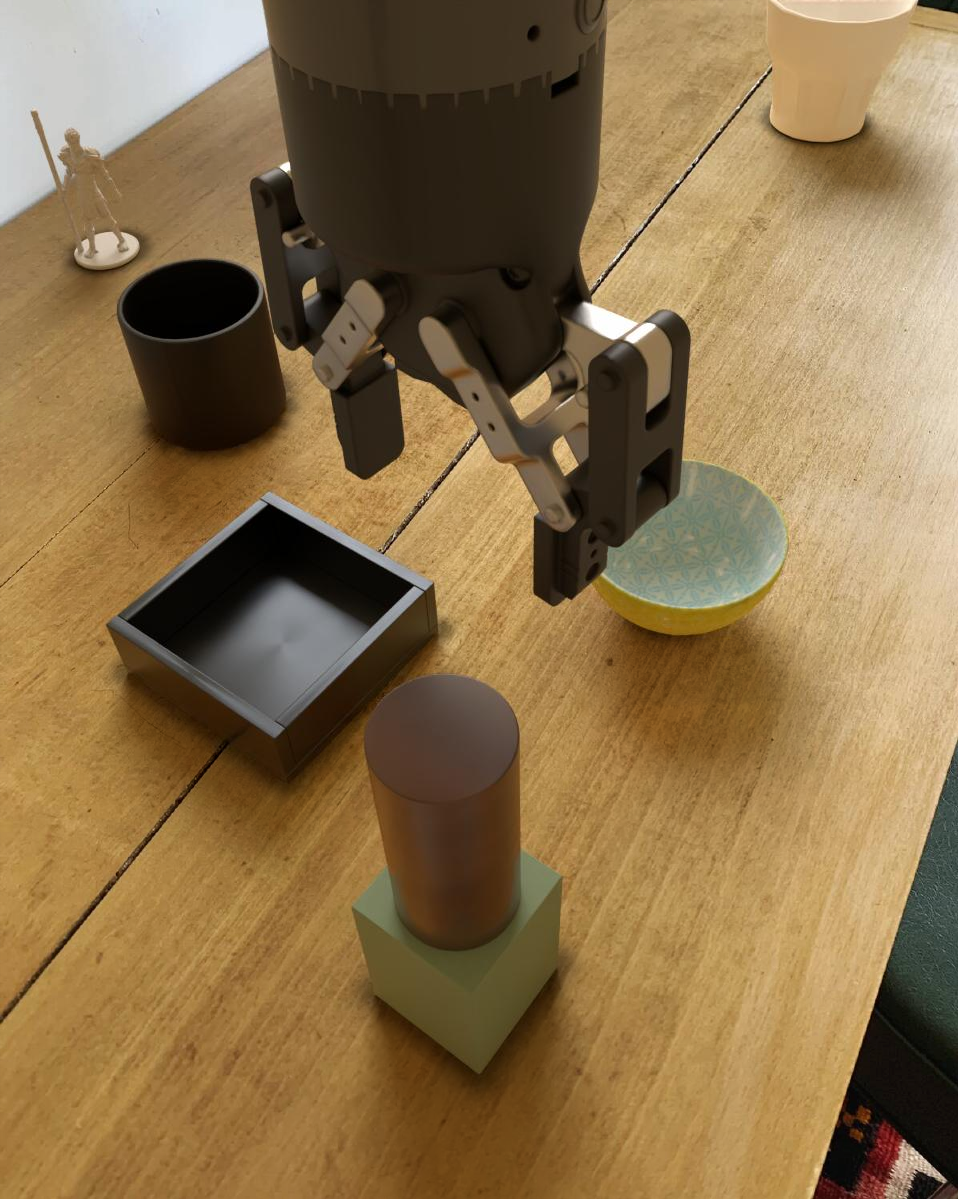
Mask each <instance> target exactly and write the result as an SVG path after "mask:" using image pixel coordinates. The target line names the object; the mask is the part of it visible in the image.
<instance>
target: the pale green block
mask: <svg viewBox="0 0 958 1199" xmlns="http://www.w3.org/2000/svg"><path fill="white" fill-rule="evenodd" d="M563 878H564V877H563V875H562V874H560V873H559V872H557V871H556V870H554V869H553V868H552V867H550V866H549V865H547V864H546V863H544V862H542V861H541V860H539V859H538V858H536V857H535V856H533V855H532V854H530V853H528V852H527V851H526V850H524V849H522V848H521V897H520V902H519V906H518V909H517V912H516V914H515V916H514V918H513V920H512V921H511V923H510V924H509V926H508V927H507V928H506V929H505V930H504V932H502V933H501V934H500V935H499V936H498V937H497V938H495V939H494V940H492V941H491V942H489V943H487V944H485V945H483V946H480V947H478V948H475V949H470V950H466V951H447V950H441V949H437V948H434V947H431V946H429V945H427V944H425V943H423V942H421V941H420V940H418V939H417V938H416V937H414V936H413V935H412V934H411V933H410V932H409V931H408V930H407V929H406V927H405V926H404V924H403V923H402V921H401V919H400V917H399V915H398V913H397V910H396V906H395V901H394V896H393V891H392V886H391V882H390V877H389V872H388V867H387V865H386V866H385V867H384V868H383V869H382V870H381V871H380V872H379V873H378V875H377V876H376V877H375V878H374V879H373V881H372V882H371V883H370V884H369V885H368V886H367V888H365V890H364V891H363V892H362V893H361V894H360V896H358V898H357V899H356V900H355V901H354V902H353V904H351V906H350V908H351V912H352V915H353V916H352V917H353V918H354V923H355V926H356V930H357V933H358V938H359V941H360V946H361V949H362V953H363V955H364V960H365V962H366V963H365V964H366V967H367V971H368V974H369V979H370V982H371V986H372V989H373V993H374V995H375V996H376V997H377V998H379V999H380V1000H382V1002H384V1003H385V1004H387V1005H388V1006H389V1007H391V1008H392V1009H393V1010H394V1011H396V1012H397V1013H399V1014H400V1015H401V1016H402V1017H404V1018H405V1019H406V1020H408V1021H409V1022H410V1023H411V1024H413V1025H414V1026H415V1027H416V1028H418V1029H419V1030H420V1031H422V1032H423V1033H425V1034H426V1035H427V1036H428V1037H429V1038H431V1039H432V1040H433V1041H435V1042H436V1043H437V1044H438V1045H440V1046H441V1047H442V1048H444V1049H445V1050H446V1051H447V1052H449V1053H450V1054H452V1055H453V1056H454V1057H456V1058H457V1059H458V1060H459V1061H461V1062H462V1063H463V1064H465V1066H467V1067H469V1069H471V1070H472V1071H474V1072H475V1073H476V1074H477V1075H481V1074H482V1073H483V1071H484V1070H485V1068H486V1067H487V1066H488V1064H489V1063H490V1062H491V1060H492V1059H493V1057H494V1056H495V1054H496V1053H497V1051H498V1050H499V1049H500V1047H501V1046H502V1045H503V1043H504V1042H505V1041H506V1039H507V1038H508V1036H509V1035H510V1034H511V1032H512V1031H513V1029H514V1028H515V1026H516V1025H517V1024H518V1022H520V1020H521V1019H522V1017H523V1016H524V1014H525V1013H526V1012H527V1010H528V1008H529V1007H530V1006H531V1004H532V1003H533V1001H534V1000H535V999H536V997H537V996H538V995H539V993H540V992H541V990H542V989H543V988H544V986H545V985H546V983H548V982H549V979H550V978H551V976H553V974H554V973H555V971H556V970H557V968H558V966H559V949H560V930H561V914H562V913H561V912H562V895H563V894H562V893H563Z"/></svg>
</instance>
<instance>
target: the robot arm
mask: <svg viewBox="0 0 958 1199" xmlns="http://www.w3.org/2000/svg"><path fill="white" fill-rule="evenodd" d="M261 5H262V9H263V10H262V11H263V15H264V22H265V27H266V35H267V40H268V45H269V52H270V58H271V64H272V70H273V76H274V81H275V86H276V87H275V88H276V89H275V90H276V94H277V99H278V106H279V112H280V117H281V123H282V129H283V135H284V141H285V146H286V147H285V148H286V152H287V153H286V154H287V160H286V161H285V162H282V163H280V164H278V165H276V166H274V167H272V168H271V169H268V170H266V171H265V172H262V173H260V174H258V175H257V176H254V177H252V178H251V180H250V182H249V190H250V198H251V203H252V204H251V205H252V210H253V216H254V221H255V228H256V234H257V241H258V247H259V252H260V257H261V265H262V272H263V276H264V283H265V291H266V297H267V303H268V309H269V314H270V319H271V324H272V328H273V333H274V336H276V339H277V340H278V342H279V343H280V344H281V345H282V346H283V347H284V348H285V349H286V350H288V351H290V352H295V351H297V350H299V349H300V348H301V347H303V348H304V349H305V350H306V351H307V352H308V353H309V354H310V355H311V356H312V360H311V365H312V369H313V372H314V375H315V376H316V378H317V379H318V381H319V382H320V383H321V384H322V386H324V388H326V389H327V390H328V391H329V396H330V401H331V407H332V413H333V414H334V415H333V418H334V423H335V431H336V437H337V439H338V442H339V444H340V446H341V451H342V458H343V463H344V468H345V469H346V471H348V472H350V473H352V474H353V475H354V476H356V477H357V478H358V479H360V480H362V481H367V480H369V479H370V478H371V479H372V477H374V476H375V475H377V474H378V473H379V472H381V471H382V470H383V469H386V468H387V467H388V466H389V465H391V464H392V463H393V462H394V461H396V460H397V459H398V458H400V456H401V455H402V453H403V452H404V449H405V444H406V440H405V439H406V438H405V430H404V422H403V421H404V420H403V413H402V412H403V411H402V403H401V395H400V394H401V392H400V385H399V384H400V383H399V376H398V371H399V372H401V373H404V374H405V375H407V376H408V377H409V378H412V379H414V380H416V381H417V380H418V381H421V382H425V383H427V384H431V385H433V386H434V387H435V388H436V389H437V390H439V391H440V392H441V393H443V395H445V396H446V397H447V398H448V399H450V400H451V401H452V402H453V403H455V404H457V405H458V406H460V407H462V408H464V409H465V410H467V411H468V413H469V415H470V417H471V419H472V421H473V423H474V425H475V427H476V428H477V430H478V432H479V433H480V436H481V437H482V439H483V441H484V443H485V445H486V447H487V449H488V450H489V453H490V454H491V456H492V457H493V459H494V460H495V461H497V462H498V463H500V464H502V465H503V464H504V465H506V464H509V465H512V466H513V467H515V469H516V471H517V472H518V475H519V476H520V478H521V480H522V482H523V484H524V486H525V488H526V490H527V492H528V493H529V495H530V497H531V499H532V501H533V502H534V504H535V507H536V509H537V510H538V512H537V513H535V515H534V516H533V550H532V551H533V552H532V553H533V559H532V560H533V561H532V562H533V563H532V564H533V566H532V567H533V569H532V570H533V571H532V573H533V574H532V583H533V584H532V593H533V595H535V596H536V597H537V598H538V599H540V600H542V601H543V602H545V604H547V605H549V606H551V607H552V608H554V607H557V606H559V605H560V604H561V603H563V601H565V600H566V599H568V600H570V601H573V600H574V599H575V598H577V596H579V594H581V592H583V591H584V590H585V589H587V587H589V586H590V585H592V582H593V581H594V580H595V579H596V578H597V577H599V576H600V575H601V574H602V572H603V571H604V570H605V568H606V567H607V556H608V555H607V553H608V546H610V547H614V548H618V547H620V546H622V545H623V544H624V543H625V542H626V541H628V540H629V539H630V538H631V537H632V536H633V535H634V533H635V531H637V530H638V529H639V528H640V527H641V526H642V525H643V524H645V523H646V522H647V521H648V520H649V519H650V518H651V517H653V516H654V515H655V514H656V513H657V512H658V511H659V510H661V509H662V508H665V507H666V506H667V505H669V504H670V503H671V502H672V501H673V500H674V499H675V498H677V496H678V495H679V492H680V480H681V467H682V459H683V451H684V441H685V440H684V439H685V438H684V437H685V423H686V413H687V412H686V411H687V397H688V383H689V371H690V355H691V344H692V336H691V331H690V328H689V326H688V324H687V323H686V321H685V319H683V317H681V315H680V314H678V313H676V312H675V311H673V310H671V309H665V308H664V309H659V310H657V311H655V312H653V314H651V315H650V316H649V317H647V318H646V319H644V320H643V321H642V322H636V321H633V320H631V319H629V318H627V317H624V316H622V315H619V314H617V313H614V312H612V311H610V310H607V309H605V308H602V307H601V306H598V305H595V304H593V298H592V294H591V291H590V287H589V286H588V283H587V280H586V277H585V274H584V270H583V265H582V262H581V255H580V254H581V252H580V251H581V245H582V241H583V237H584V234H585V231H586V227H587V224H588V221H589V219H590V215H591V212H592V210H593V208H594V205H595V204H594V203H595V200H596V196H597V192H598V189H599V180H600V179H599V178H600V177H599V176H600V160H601V142H602V141H601V140H602V120H603V100H604V82H605V81H604V80H605V64H606V46H607V44H606V43H607V27H608V26H607V25H608V9H609V8H608V7H609V0H261ZM313 279H315V284H316V285H315V286H316V292H314V293H312V294H311V295H309V296H307V297H306V298H304V296H303V290H304V288H305V285H307V283H308V282H309V281H311V280H313ZM388 356H390V357H392V358H393V360H394V364H392V363H391V362H389V361H388V360H386V359H385V358H387V357H388ZM544 373H545V374H546V376H547V377H548V380H549V383H550V390H551V391H550V395H549V397H548V399H547V400H545V402H544V403H542V404H541V405H540V406H538V407H537V408H535V409H534V410H532V411H531V412H530V413H529V414H528V415H526V416H525V417H523V418H522V419H521V417H519V415H518V414H517V411H516V409H515V408H514V406H513V404H512V402H511V399H513V398H514V397H516V396H517V395H519V394H520V393H521V392H522V391H524V390H525V389H527V388H528V387H529V386H530V385H531V386H532V384H533V383H535V381H537V380H538V379H539V378H540V377H541V376H542V375H543V374H544ZM562 437H563V438H564V439H565V442H566V443H567V445H568V447H569V449H570V452H571V453H572V455H573V457H574V460H575V461H576V462H577V466H575V467H574V468H573V469H572V470H570V471H569V472H568V473H567V474H566V475H565V474H564V472H563V471H562V468H561V467H560V464H559V463H558V461H557V458H556V457H555V455H554V454H555V453H554V445H555V443H556V442H557V441H558V440H559V439H560V438H562Z"/></svg>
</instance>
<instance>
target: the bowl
mask: <svg viewBox="0 0 958 1199" xmlns="http://www.w3.org/2000/svg"><path fill="white" fill-rule="evenodd" d="M789 544H790V538H789V531H788V526H787V523H786V520H785V517H784V515H783V513H782V511H781V509H780V508H779V506H778V505H777V503H776V502H775V501H774V499H773V498H772V497H771V496H770V494H768V492H766V491H765V490H764V489H763V488H762V487H760V485H758V484H757V483H755V482H754V481H752V480H751V479H750V478H748V477H746V476H745V475H743V474H741V473H739V472H737V471H735V470H732V469H730V468H727V467H724V466H722V465H719V464H716V463H712V462H707V461H702V460H697V459H690V458H682V467H681V480H680V492H679V495H678V496H677V498H675V499H674V500H673V501H672V502H671V503H670V504H669V505H667V506H666V507H665V508H662V509H661V510H659V511H658V512H657V513H656V514H655V515H654V516H653V517H651V518H650V519H649V520H648V521H647V522H646V523H645V524H643V525H642V526H641V527H640V528H639V529H638V530H637V531H635V533H634V535H633V536H632V537H631V538H630V539H629V540H628V541H626V542H625V543H624V544H623V545H622V546H620V547H618V548H614V547H610V546H608V553H607V555H608V556H607V567H606V568H605V570H604V571H603V572H602V574H601V575H600V576H599V577H597V578H596V579H595V580H594V581H593V582H592V583H591V585H592V586H593V588H594V590H595V591H596V592H597V594H598V595H599V597H600V598H601V599H602V600H603V601H604V602H605V603H606V604H607V605H608V606H609V607H610V608H611V609H612V610H613V611H614V612H616V614H618V615H619V616H621V617H622V618H624V619H625V620H628V621H629V622H631V623H633V624H634V625H637V626H638V627H641V628H642V629H645V630H648V631H652V632H656V633H660V634H665V635H673V636H690V635H701V634H706V633H709V632H713V631H715V630H719V629H721V628H724V627H727V626H729V625H731V624H733V623H735V622H736V621H739V620H740V619H742V618H743V617H745V616H746V615H747V614H749V613H750V612H751V611H753V610H754V609H755V608H756V606H758V605H759V604H760V603H761V602H762V601H763V600H764V599H765V597H766V596H767V595H769V593H770V591H771V589H772V588H773V586H774V585H775V583H776V582H777V581H778V578H779V577H780V574H781V572H782V571H783V568H784V565H785V562H786V560H787V556H788V552H789V546H790V545H789Z"/></svg>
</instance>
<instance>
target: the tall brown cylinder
mask: <svg viewBox="0 0 958 1199" xmlns="http://www.w3.org/2000/svg"><path fill="white" fill-rule="evenodd" d="M519 725H520V724H519V722H518V718H517V716H516V713H515V711H514V709H513V707H512V706H511V705H510V703H509V702H508V701H507V700H506V698H505V696H503V695H502V694H501V693H500V692H499V691H498V690H496V689H495V688H494V687H492V686H491V685H490V684H488V683H486V682H484V681H482V680H480V679H477V678H475V677H472V676H468V675H464V674H458V673H445V672H444V673H443V672H442V673H441V672H440V673H431V674H425V675H422V676H417V677H416V678H415V677H414V678H412V679H410V680H407V681H405V682H402V683H401V684H399V685H398V686H396V687H395V688H393V689H391V691H389V692H388V693H387V694H386V695H385V696H383V697H382V698H381V699H380V701H379V702H378V703H377V704H376V705H375V707H374V709H373V710H372V711H371V713H370V715H369V717H368V719H367V722H366V724H365V728H364V734H363V752H364V758H365V762H366V767H367V772H368V776H369V782H370V786H371V791H372V796H373V802H374V806H375V811H376V816H377V817H376V818H377V821H378V825H379V826H378V827H379V831H380V836H381V842H382V846H383V852H384V856H385V860H386V866H387V867H388V872H389V877H390V882H391V886H392V891H393V896H394V901H395V906H396V910H397V913H398V915H399V917H400V919H401V921H402V923H403V924H404V926H405V927H406V929H407V930H408V931H409V932H410V933H411V934H412V935H413V936H414V937H416V938H417V939H418V940H420V941H421V942H423V943H425V944H427V945H429V946H431V947H434V948H437V949H441V950H447V951H466V950H470V949H475V948H478V947H480V946H483V945H485V944H487V943H489V942H491V941H492V940H494V939H495V938H497V937H498V936H499V935H500V934H501V933H502V932H504V930H505V929H506V928H507V927H508V926H509V924H510V923H511V921H512V920H513V918H514V916H515V914H516V912H517V909H518V906H519V902H520V897H521V849H522V847H521V846H522V845H521V732H520V726H519Z"/></svg>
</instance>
